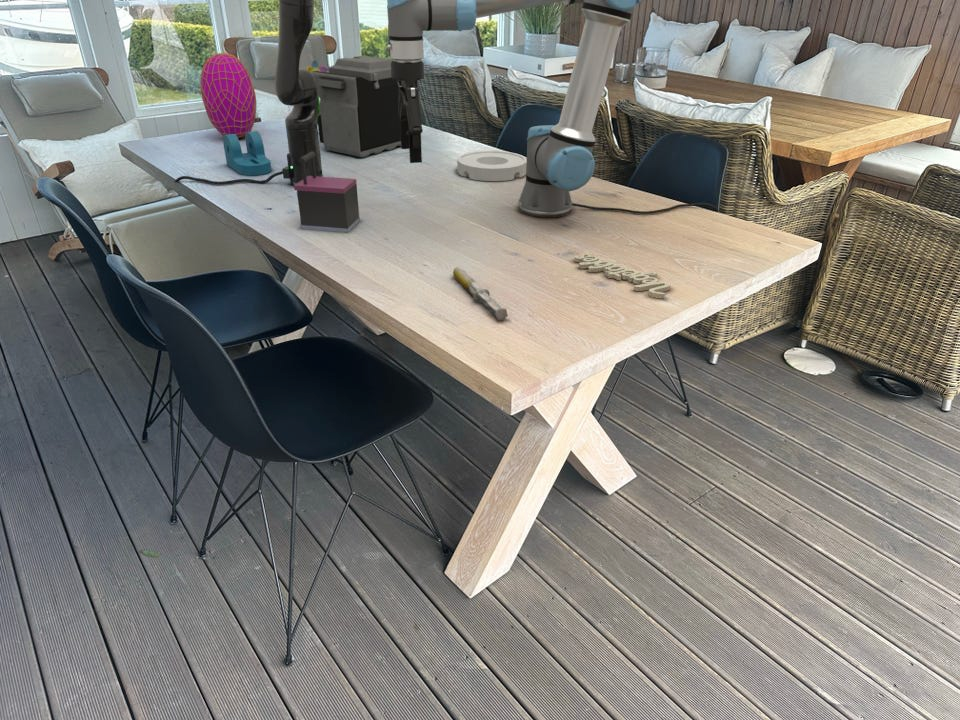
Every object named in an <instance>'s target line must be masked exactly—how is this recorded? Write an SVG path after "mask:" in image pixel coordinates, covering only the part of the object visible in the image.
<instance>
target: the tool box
mask: <svg viewBox="0 0 960 720" xmlns="http://www.w3.org/2000/svg"><path fill="white" fill-rule="evenodd" d="M392 61H393V59H391V58H385V57H377V56H367V55H356V56H353V57H350V58H349V57H343V58H342V57H341V58H337V59H336V60H335V63H334V64H333V65H330V66H329V67H328V69H329V70H328V71H326V72H321V71H313V72H311V74H312V75H313V77H314V79H315V81H316V85H317V92H318V96H319V103H320V111H321V115H319V116H318V123H317V127H318V137H319V144H323V146H324V149H325V150H327V151H330V152H335V153H340V154H344V155H348V156H353V157H357V158H362V159H363V158H366V157H367V158H368V157H369V155H371V154H375V155H377V154H381V153H382V152H383V151H391V150H395V149H396V148H397V147H401V132H400V122H401V121H400V119H399V115H398V109H399V86H398V82H397V80H394V79H392V77H391V62H392ZM415 86H416V87H418V89H419V80H416V81H415ZM419 91H420V89H419ZM419 91H418V93H419V105H420V106H421V97H420V92H419Z"/></svg>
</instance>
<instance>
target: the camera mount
mask: <svg viewBox="0 0 960 720" xmlns="http://www.w3.org/2000/svg"><path fill="white" fill-rule="evenodd" d="M244 137H245V146H246V152H243V151H242V150H243V149H242V146H241V142H240V140H239V138H237V136H236V135H235V134H230V135H224V136H223V138H222V140H223V141H222V143H223V149H224V150H223V151H224V156H225V161H226V165H227V166H228V167H230V168H231V169H232V170H234V171H236V172H237V173H238V174H239V175H244V176H260V175H265V174H268V173H271V172H272V164H271V159H270V158H268V157H267V156H266V153H265V145H264V141H263V139H262V136H261V134H260V132H258V131H250V132H247V133H246V136H244Z"/></svg>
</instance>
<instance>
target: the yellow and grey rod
mask: <svg viewBox="0 0 960 720" xmlns="http://www.w3.org/2000/svg"><path fill="white" fill-rule="evenodd" d="M452 274H453V277H454V279H455V280H457V281H458V282H459V283H460V285H462V287H464V289H466V290H467V291H468V293H470V295H471V296H472V298H473V300H474V302H477V303H478V302H480V303H482V304H483V305H484V306H485V307H486V308H487V309H488V310H489V311H490V312H491V313H492V314H493V315H494V316H495V317H496V320H497V321H503V320H504V319H506V318H507V317H509V314H508V310H507V308H506V307H502V306H501V305H500V303H498V302H497V301H496V300H494V299H493V298H492V297H491V296H490V295H491V293H490V290H488V289H486V288H483V287H482V286H481V285H480V284H479V283H478V282H477V281H476V280H474V278H473V277H471V275H469V274H468V273H467V272H466V270H465V269H464V268H463V267H462V266H456V267H454V268H453V271H452Z"/></svg>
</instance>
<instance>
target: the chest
mask: <svg viewBox="0 0 960 720" xmlns="http://www.w3.org/2000/svg"><path fill="white" fill-rule="evenodd" d="M357 184H358V183H357ZM357 184H356V185H354V186H353V187H352V188H351V189H349V190H348V191H347V192H346V193H344V194H340V193H326V192H311V191H297V190H296V194H297V195H296V196H297V203H298V211H299V218H300V227H301V228H300V229H301V230H312V231H313V230H315V231H324V232H325V231H327V232H338V233H339V232H341V233H349V232H350V231H351V230H352V229H353V228H354V227H356V225H357V224H358V223H360V221H361V220H360V210H359V209H360V208H359V207H360V206H359V199H358V198H359V195H358V185H357Z"/></svg>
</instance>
